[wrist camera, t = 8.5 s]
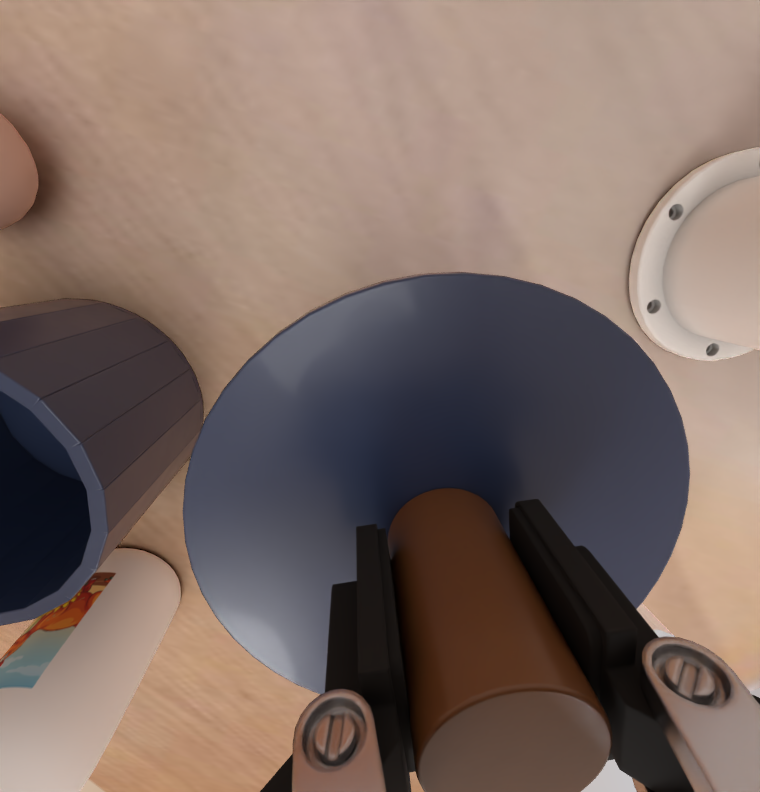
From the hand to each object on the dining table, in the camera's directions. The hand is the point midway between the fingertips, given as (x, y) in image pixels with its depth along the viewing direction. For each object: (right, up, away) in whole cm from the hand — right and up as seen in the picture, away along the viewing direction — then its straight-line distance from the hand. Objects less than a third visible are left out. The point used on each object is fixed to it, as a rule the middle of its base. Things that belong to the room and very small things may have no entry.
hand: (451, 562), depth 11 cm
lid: (0, +1, +2) cm, 2 cm away
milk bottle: (-21, -10, +22) cm, 32 cm away
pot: (-21, +4, +16) cm, 27 cm away
